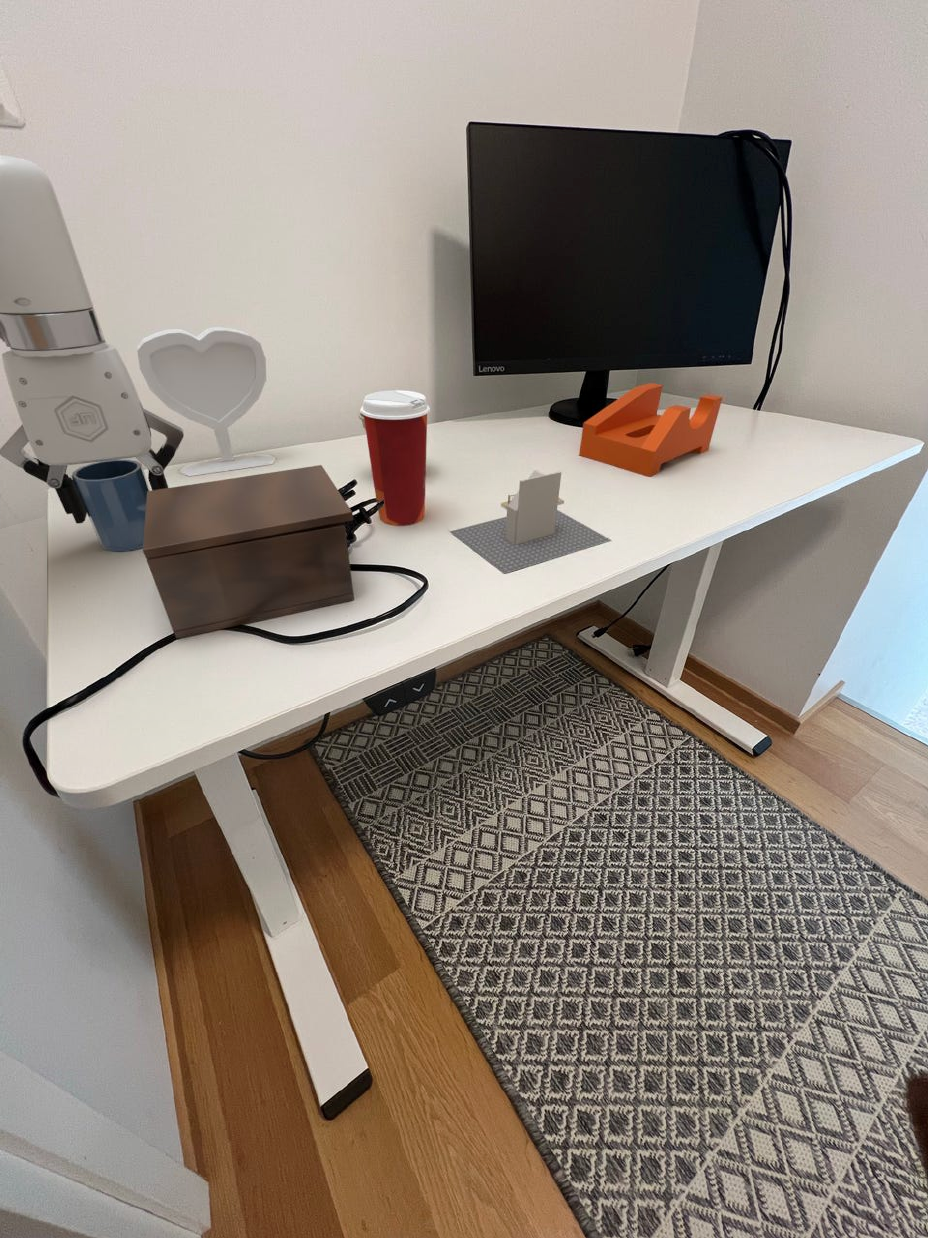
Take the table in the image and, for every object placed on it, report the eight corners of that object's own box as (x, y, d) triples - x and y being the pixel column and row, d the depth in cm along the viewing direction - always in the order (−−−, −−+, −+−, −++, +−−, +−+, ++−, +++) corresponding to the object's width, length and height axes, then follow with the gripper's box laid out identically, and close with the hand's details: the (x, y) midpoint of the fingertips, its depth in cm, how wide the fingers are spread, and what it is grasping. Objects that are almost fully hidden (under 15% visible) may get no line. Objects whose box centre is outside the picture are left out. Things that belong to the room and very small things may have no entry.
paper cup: (444, 512, 68) (443, 394, 60) (407, 535, 63) (400, 410, 55) (395, 498, 72) (388, 385, 63) (356, 519, 66) (342, 399, 58)
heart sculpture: (173, 478, 76) (129, 335, 66) (171, 467, 80) (129, 330, 70) (285, 462, 82) (261, 328, 72) (278, 452, 86) (254, 323, 76)
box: (325, 543, 61) (315, 476, 57) (354, 600, 52) (344, 525, 47) (174, 570, 56) (149, 499, 51) (176, 639, 47) (146, 559, 42)
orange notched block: (640, 432, 97) (650, 382, 92) (708, 450, 89) (722, 396, 84) (579, 454, 86) (586, 400, 82) (649, 476, 79) (662, 418, 74)
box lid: (322, 472, 57) (321, 464, 56) (353, 520, 47) (352, 511, 47) (149, 498, 51) (146, 490, 51) (146, 559, 42) (142, 550, 42)
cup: (98, 556, 58) (67, 484, 54) (103, 531, 63) (75, 463, 58) (164, 545, 60) (140, 475, 56) (164, 522, 65) (142, 456, 60)
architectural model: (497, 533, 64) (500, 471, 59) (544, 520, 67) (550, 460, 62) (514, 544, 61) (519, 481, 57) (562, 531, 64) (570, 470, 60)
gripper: (-78, 344, 44) (23, 541, 54) (159, 333, 50) (210, 512, 60) (-51, 331, 49) (37, 511, 60) (160, 322, 55) (206, 488, 66)
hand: (123, 511), depth 60 cm, fingers open, 7 cm apart
